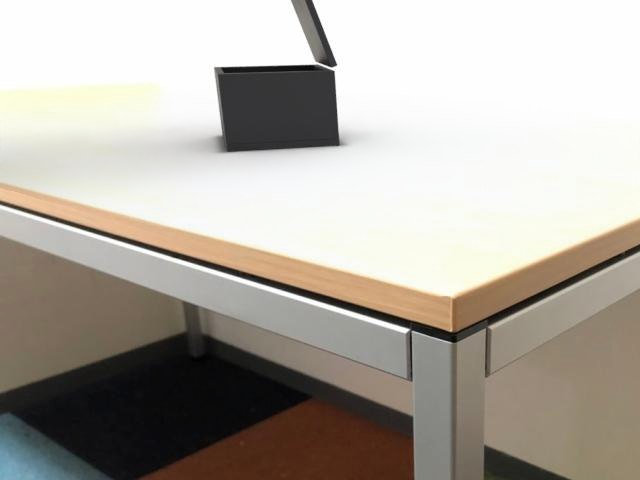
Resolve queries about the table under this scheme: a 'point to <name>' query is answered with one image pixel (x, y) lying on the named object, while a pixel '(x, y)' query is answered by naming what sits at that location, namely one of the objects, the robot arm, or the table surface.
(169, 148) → the table surface
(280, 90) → the dark grey storage bin
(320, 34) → the lid
